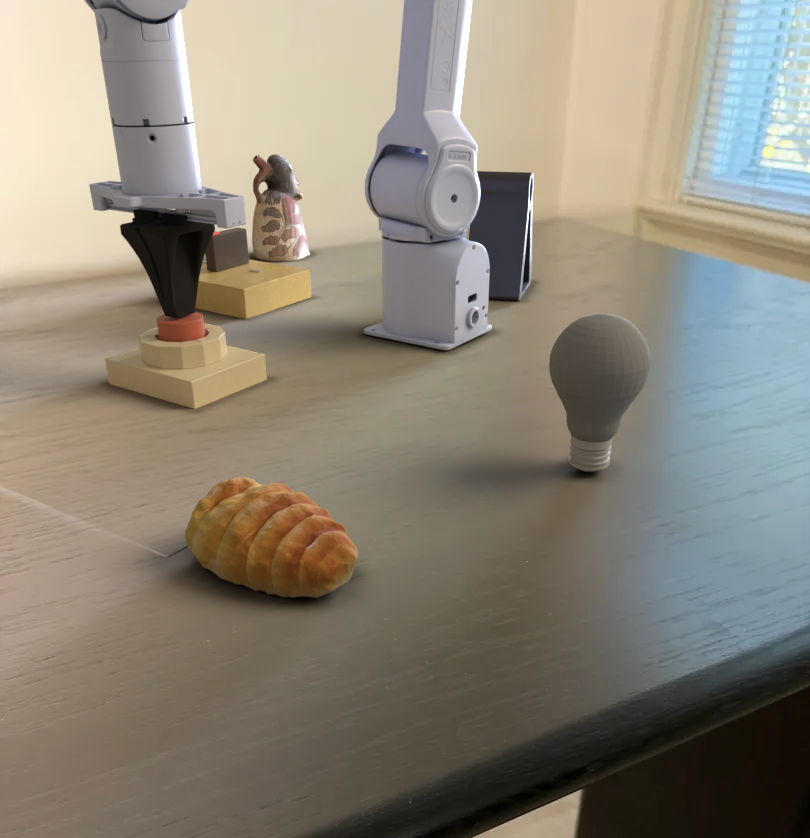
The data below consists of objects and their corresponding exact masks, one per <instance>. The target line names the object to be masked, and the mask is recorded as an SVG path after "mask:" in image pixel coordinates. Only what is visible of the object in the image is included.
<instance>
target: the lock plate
mask: <svg viewBox="0 0 810 838" xmlns="http://www.w3.org/2000/svg"><path fill="white" fill-rule="evenodd" d="M311 298H312V285H311V270H310V268H303V267H298V266H291V265H286V264H285V265H284V264H279V263H273V262H268V261H262V260H261V261H260V260H254V259H249V263H247V264H243V265H240V266H236V267H232V268H228V269H225V270H221V271H217V272H215V271H209V270H207V264H206V260H203V262H202V266H201V271H200V276H199V283H198V290H197V299H196V308H195V310H196V309H197V310H201V311H205V312H210V313H211V312H212V313H215V314H221V315H225V316H230V317H235V318H239V319H244V320H248V319H252V318H253V317H258V316H259V315H263V314H266V313H268V312H272V311H275V310H278V309H281V308H284V307H287V306H290V305H292V304H296V303H299V302H302V301H306V300H308V299H311Z"/></svg>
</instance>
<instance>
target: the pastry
mask: <svg viewBox="0 0 810 838" xmlns="http://www.w3.org/2000/svg"><path fill="white" fill-rule="evenodd" d="M184 539H185V542H186V545H187V547H188V549H189V550H190V552H191V553H192V554H193V555H194V557H195V558H196V559H197V561H198V562H199V564H200V565H201V566H202V568H203V569H204V570H209V571H210V572H212V573H214V574H215V575H216V576H217V578H219V579H222V580H225V581H227V582H231V583H233V584H234V585H237V586H238V585H243V586H244V587H247V588H249V589H251V590H253V591H254V592H257V591H261V592H264V593H266V595H268V596H269V595H274V596H278V597H280V598H297V597H309V598H321V597H323V596H325V595H328V594H331V593H332V592H334V591H335V590H336V589H338V588H339V587H341V586H343V585H344V584H346V583H348V582H349V580H350V579H351V578H352V576H353V572H354V571H355V568H356V566H357V563H358V556H359V555H358V554H359V549H358V547H357V546H356V544H355V543H354V542H353V540H351V538H350V537H349V536H348V534H347V531H346V529H345V526H344V525H343V524H342V523H339V522H336V521H334V518H333V517H332V515H331V513H330V512H329V510H328V509H327V508H324V507H320V506H319V505H318V504H317V503H316V502H315V501H313V500H312V499H311V498H310V497H308V496H307V495H306V494H305V493H304V492H303V491H294V490H293V489H292V488H291V487H289V486H287V485H286V484H284V483H282V482H270V483H266V484H264V485H262V484H260V483H259V482H257V481H256V480H254V479H253V478H251V477H245V476H243V477H242V476H239V477H231V478H228V479H225V480H222V481H220V482H218V483H217V484H215V485H213V487H212V488H211V489H209V491H208V493H207V494H206V495H205V496H204V497H203V498H201V499H200V500H198V501H197V503H196V505H195V507H194V509H193V510H192V511H191V516H190V519H189V521H188V523H187V526H186V528H185V531H184Z"/></svg>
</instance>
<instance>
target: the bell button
mask: <svg viewBox="0 0 810 838" xmlns="http://www.w3.org/2000/svg"><path fill="white" fill-rule="evenodd" d="M155 320H156V327H158V334H159V340H161V341H165V342H185V341H193V340H197V339H200V338H203V337H206V335H205V327H204V323H205V319H204V315H203V313H201V312H197V311H195V313H192V314H189V315H186V316H183V317H180V318H172V317H168V316H165V314H164V313H163V314H159V315H158V316H157V317H156V319H155Z"/></svg>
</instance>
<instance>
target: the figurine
mask: <svg viewBox="0 0 810 838" xmlns="http://www.w3.org/2000/svg"><path fill="white" fill-rule="evenodd" d="M252 162H253V164H254V165H255V166H256V167H257V168H258V172H257V173H256V174H255V176H254V178H253V180H252V192H253V194H254V197H255V199H256V202H255V207H254V211H253V216H252V233H251V243H252V244H251V245H252V252H253V255H254V258H256V259H258V260H261V261H265V262H290V261H298V260H301V259H303V258H306V257H307V256H310V255H311V253H310V249H309V242H308V239H307V234H306V230H305V226H304V222H303V218H302V213H301V209H300V207H299V201H300V200H302V199H303V193H301V192H300V190H299V186H300V181H299V179H298V178H297V177H296V176H295V171H294V168H293V166H292V165H291V163H289V162H288V160H287V159H286V158H285V157H284V156H282V155H280V154H276V153H274V154H271V155H269V156H268V157H267V159H266V160H265V159H264V158H263V157H262V156H260V155H259V154H256V155H255V156H253V157H252ZM262 183H265V185H266V186H267V188H266V189H265V190H264V191H263V192H262V193H261V192H260V185H261V184H262Z"/></svg>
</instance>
